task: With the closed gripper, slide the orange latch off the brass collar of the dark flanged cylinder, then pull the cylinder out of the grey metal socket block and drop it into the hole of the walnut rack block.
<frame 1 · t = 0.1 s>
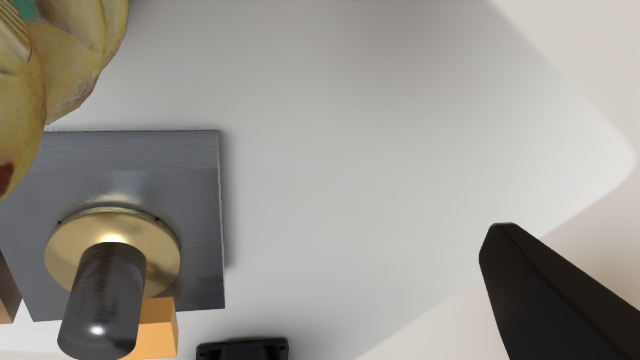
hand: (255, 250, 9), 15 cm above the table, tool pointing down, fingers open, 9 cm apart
socket block: (125, 210, 27), on the table
dark flanged cylinder: (125, 210, 27), resting in socket block
latch: (144, 329, 26), point 5 cm above the table, slide at 0.0 cm
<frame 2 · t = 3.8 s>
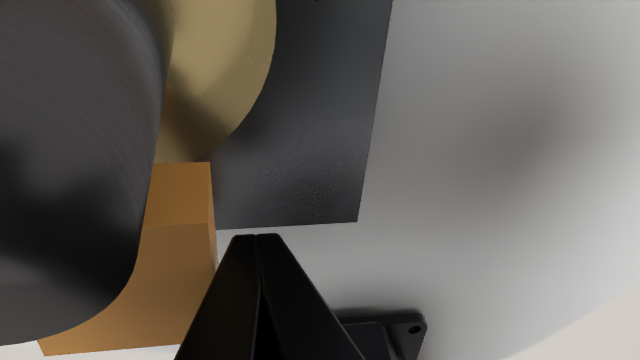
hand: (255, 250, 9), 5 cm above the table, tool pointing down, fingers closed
latch: (125, 260, 9), point 5 cm above the table, slide at 0.6 cm, touching gripper
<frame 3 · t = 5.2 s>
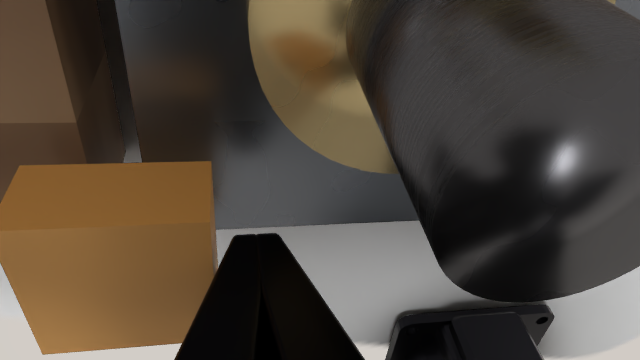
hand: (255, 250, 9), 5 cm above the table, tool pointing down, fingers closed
latch: (126, 259, 9), point 5 cm above the table, slide at 6.1 cm, touching gripper
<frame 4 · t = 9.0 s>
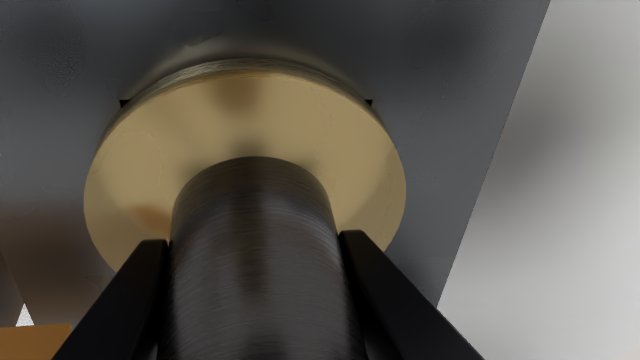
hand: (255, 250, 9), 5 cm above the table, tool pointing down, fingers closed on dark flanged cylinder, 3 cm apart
socket block: (245, 115, 12), on the table
dark flanged cylinder: (246, 115, 12), resting in socket block, touching gripper
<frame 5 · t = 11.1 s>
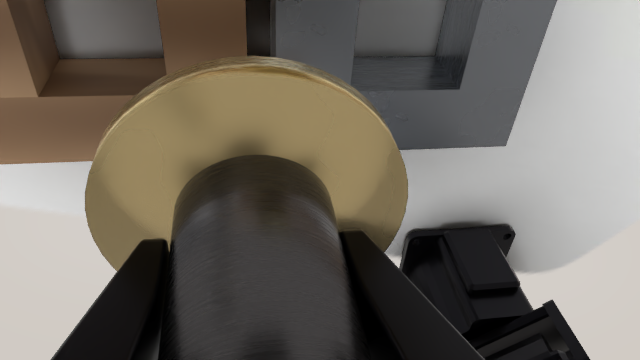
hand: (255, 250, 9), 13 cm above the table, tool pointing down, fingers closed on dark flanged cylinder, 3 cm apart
socket block: (394, 5, 20), on the table
dark flanged cylinder: (247, 114, 12), point 9 cm above the table, touching gripper
rack block: (107, 3, 19), on the table
when the fingers open (6 cm above the table, at t = 13.2 s): dark flanged cylinder drops 2 cm, resting in rack block.
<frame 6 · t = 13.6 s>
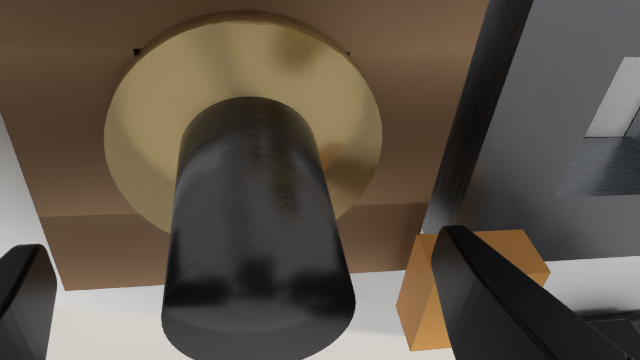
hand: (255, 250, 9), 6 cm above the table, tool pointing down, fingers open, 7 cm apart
socket block: (594, 80, 16), on the table
dark flanged cylinder: (243, 75, 14), resting in rack block
rack block: (242, 77, 14), on the table
latch: (466, 290, 14), point 5 cm above the table, slide at 6.2 cm
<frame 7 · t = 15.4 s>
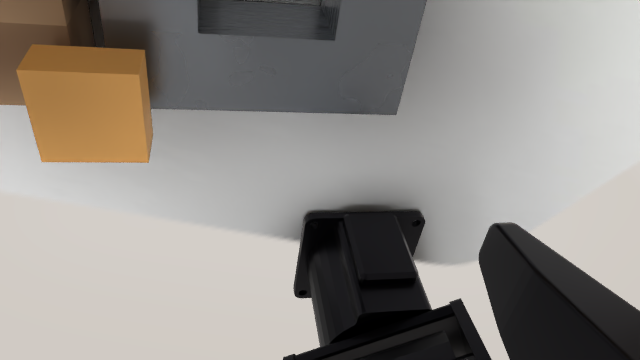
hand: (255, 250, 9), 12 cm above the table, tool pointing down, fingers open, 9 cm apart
latch: (93, 106, 15), point 5 cm above the table, slide at 6.2 cm
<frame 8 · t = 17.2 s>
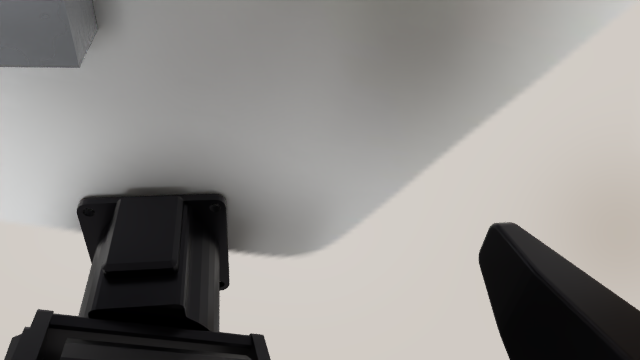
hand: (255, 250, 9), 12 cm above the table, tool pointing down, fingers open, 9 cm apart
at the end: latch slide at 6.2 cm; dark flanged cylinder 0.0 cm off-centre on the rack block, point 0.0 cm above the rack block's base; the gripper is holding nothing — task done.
